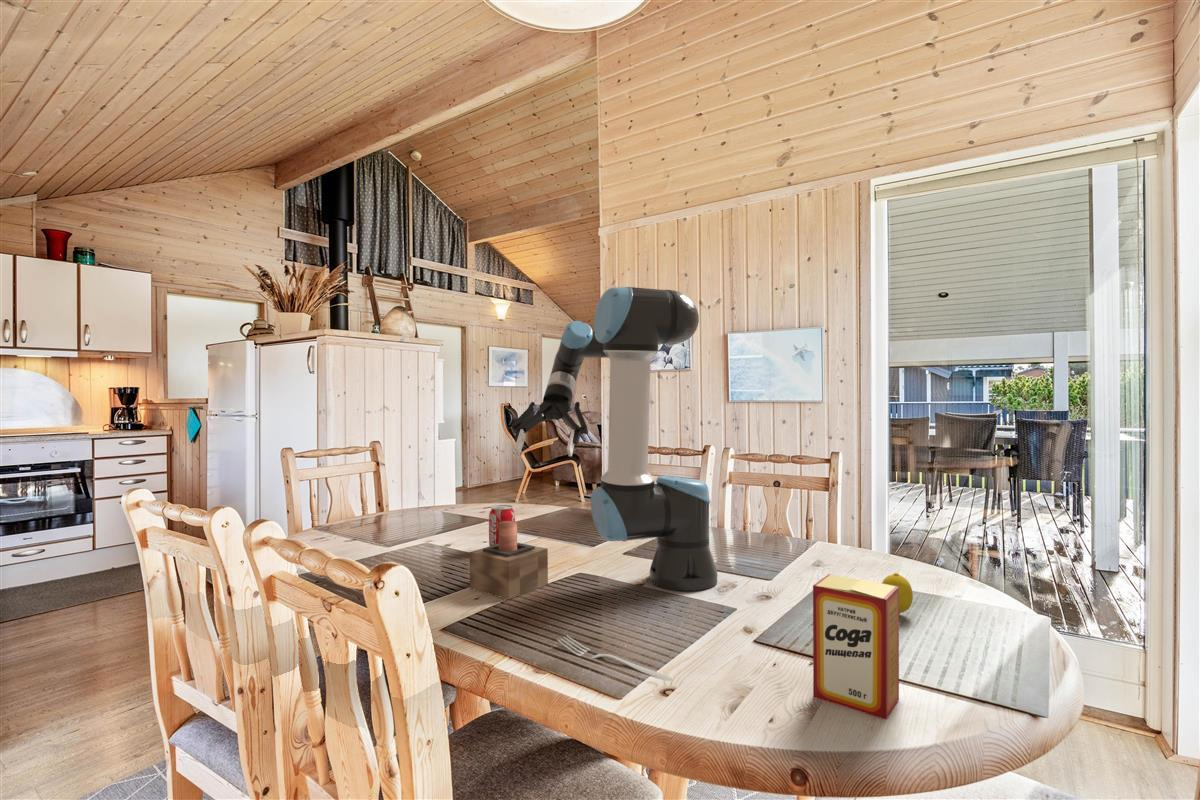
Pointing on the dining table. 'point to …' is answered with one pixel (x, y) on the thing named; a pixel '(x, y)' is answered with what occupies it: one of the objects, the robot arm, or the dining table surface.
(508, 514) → the soda can
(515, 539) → the peg
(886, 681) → the baking soda box
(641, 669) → the fork
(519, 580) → the socket block
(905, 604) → the lemon
